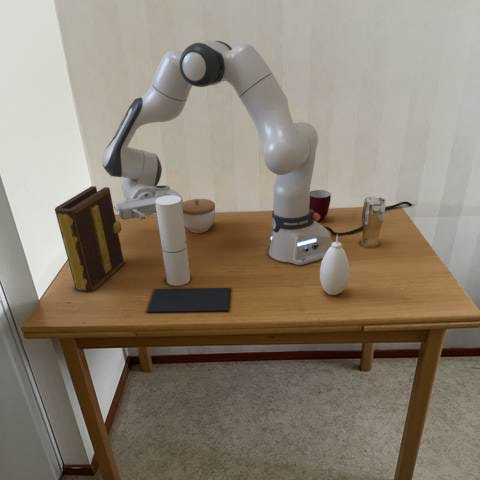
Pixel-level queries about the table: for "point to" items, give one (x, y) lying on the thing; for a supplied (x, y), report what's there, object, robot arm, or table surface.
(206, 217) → the lidded bowl
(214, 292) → the felt mat
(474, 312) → the table surface
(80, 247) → the book
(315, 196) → the mug
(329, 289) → the white bulb air blower
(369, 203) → the beer glass
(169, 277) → the cylindrical container
